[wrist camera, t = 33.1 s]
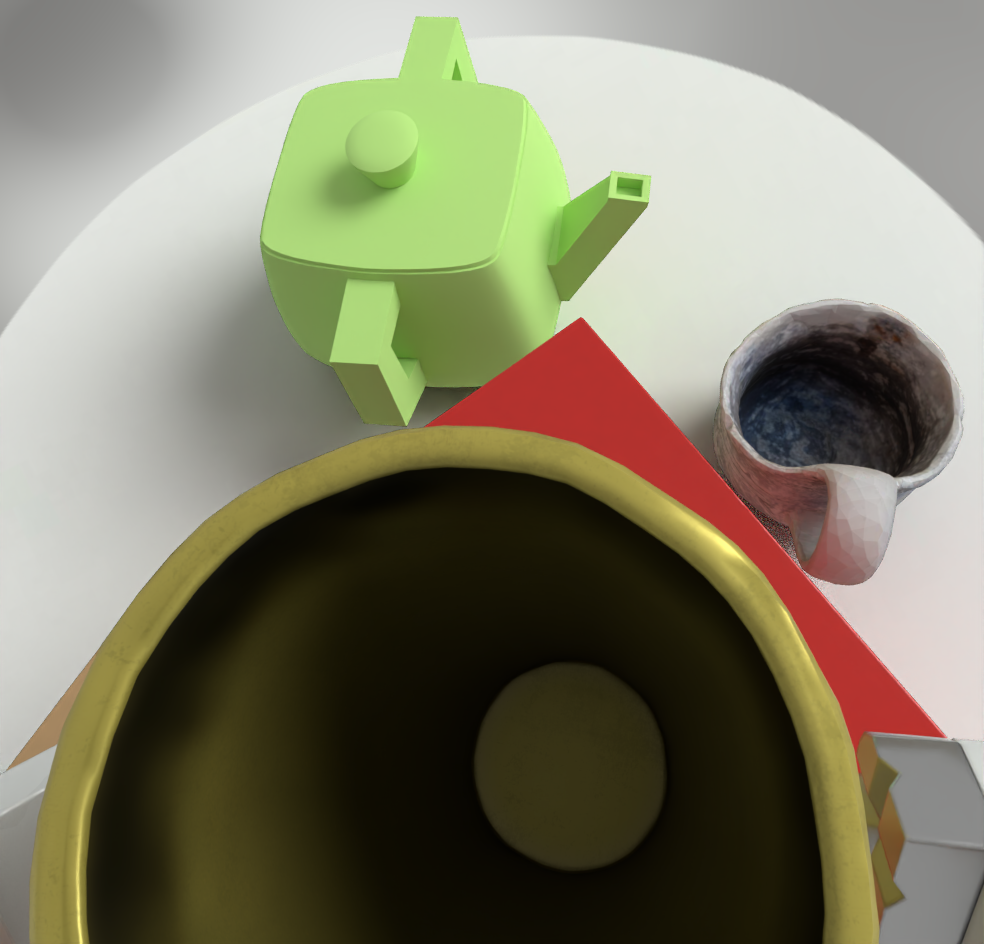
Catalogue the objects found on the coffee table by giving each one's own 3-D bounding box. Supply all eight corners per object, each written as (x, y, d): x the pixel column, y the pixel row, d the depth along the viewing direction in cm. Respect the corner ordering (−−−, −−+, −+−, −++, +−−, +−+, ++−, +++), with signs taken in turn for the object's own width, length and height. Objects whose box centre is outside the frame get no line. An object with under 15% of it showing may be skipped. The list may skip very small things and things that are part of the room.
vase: (644, 589, 19) (696, 239, 6) (756, 857, 17) (1259, 1315, 4) (407, 677, 19) (-85, 541, 6) (488, 953, 17) (5, 1726, 4)
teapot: (663, 159, 46) (677, -48, 34) (622, 485, 41) (621, 378, 28) (364, 149, 50) (280, -41, 38) (288, 447, 44) (159, 337, 32)
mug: (891, 359, 40) (972, 245, 31) (941, 606, 36) (1051, 561, 27) (696, 375, 42) (717, 271, 32) (724, 616, 38) (757, 576, 28)
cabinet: (591, 1036, 33) (551, 1420, 15) (373, 674, 40) (147, 619, 21) (855, 834, 34) (1136, 954, 15) (600, 511, 40) (581, 315, 22)
